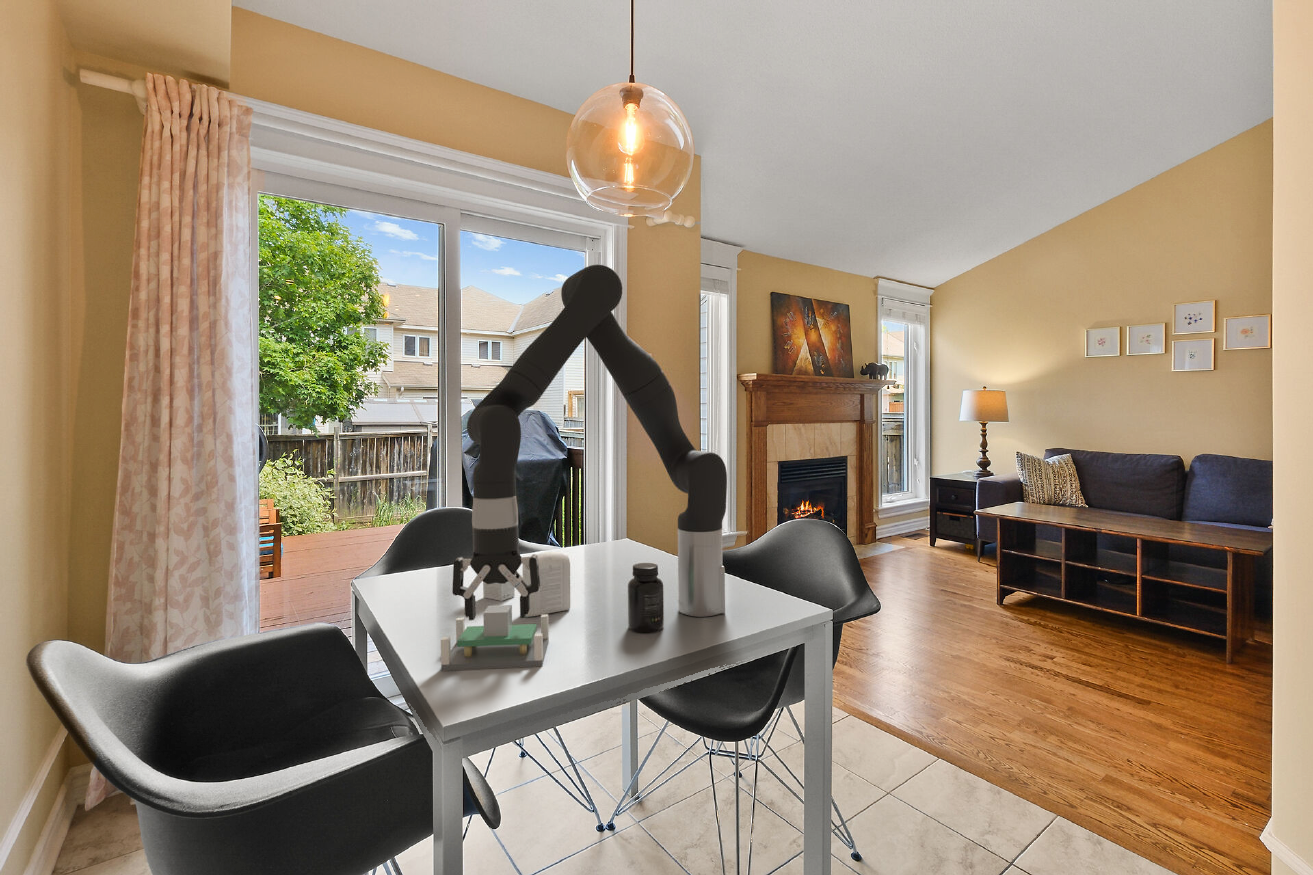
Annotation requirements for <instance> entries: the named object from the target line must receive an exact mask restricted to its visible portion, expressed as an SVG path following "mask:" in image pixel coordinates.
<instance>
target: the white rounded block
mask: <svg viewBox="0 0 1313 875" xmlns="http://www.w3.org/2000/svg"><path fill="white" fill-rule="evenodd" d="M536 555H537V556H538V565H539V577H540V587H539V590H538V591H537V592H534V593H531V594H530V610H529V612H528V614H526V616H525V618H530V617H536V616H541V615H545V614H548V615H549V614H553V613H557V612H564V611H567V610H568V611H569V610H570V609H571V561H570V557H569V555H568V554H565V553H562V552H561V553H560V552H552V551H551V552H544V553H543V552H541V553H538V554H536ZM522 578H523V580H524V581H525V583H526V584H527V585H530V584H531V578H530V570H527V569H526V567H525V565H524V564H522Z"/></svg>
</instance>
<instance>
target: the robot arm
mask: <svg viewBox="0 0 1313 875" xmlns="http://www.w3.org/2000/svg"><path fill="white" fill-rule="evenodd" d="M622 284H623V283H622V280H621V278H620V276H619V273H617V272H616V271H615V270H614V269H613V268H612V267H610V266H608V265H605V264H591V265H587V266H586V267H583V268H582V269H581V270H579V271H577V272H575V273H573V274H572V275H570V276H569V277H567V279H566V280H564V282H563V283H562V286H561V292H560V294H561V301H562V302H561V303H562V304H563V306H564V307H563V309H562V310H561V312H559V314H558V315H557V316H556V318H554V320H553V321H552V322H551V323H550V324H549V325H548V326H547V328H546V329H544V330H543V331H542V332H541V333H540V334H539V335H538V336H537V337H536V338H535V339H534V340H532V342H531V343H530V344H529V345H528V347H526V348H525V349H524V350H523V352H522V353H521V354H520V355H519V357H518V358H517V359H516V361H514V363H513V365H511V367H510V368H509V369H508V371H507V372H506V374H505V375H504V377H503V378H502V380H501V381H500V382H499V383H498V384H497V385H496V386H495V387H494V388H492V389H491V390H490V392H488V393H487V394H486V396H484V398H483V399H481V401H480V402H479V403H478V404H476V406H475V407H474V408H473V410H472V412H471V413H470V415H469V417H468V419H467V424H466V431H467V434H468V436H469V439H470V440H471V441H472V442H473V443H474V444H477V445H479V446H480V448H479V461H478V463H477V464H476V465H475V466H474V468H473V472H472V474H473V475H472V485H473V486H472V489H473V490H472V491H473V493H472V494H473V496H472V497H473V499H472V500H473V502H472V511H471V516H472V517H471V524H472V557H471V558H464V557H463V556H459V557H457V558H456V559H455V560H454V561H453V565H452V566H453V569H452V589H451V590H452V595H453V596H459V597H462V598H463V600H464V615H465V617H466V618H468V621H475V619H476V595H474V593H475V591H477V589H478V588H479V586H480V585H481V583H482V582H485V583H486V584H493V583H500V584H505V583H506V582H508V581H509V582H510V583H511V585H512V586H513V587H514V589H515V590H517V591H518V593H519V594H520V596H519V615H520V616H519V617H520V619H525V618H526V614H528V612H529V610H530V594H531V593H534V592H537V591H538V590H539V587H540V577H539V565H538V556H537V555H538V554H535V553H534V554H532V555H531V556H521V554H520V546H519V542H520V540H519V535H520V534H519V508H518V507H519V506H518V500H517V481H516V479H517V477H516V469H517V464H518V460H519V456H520V455H519V454H520V447H521V440H522V426H521V422H520V419H519V417H520V415H521V414H522V413H523V412H524V411H525V410H527V409H529V408H531V407H533V406H534V405H535V404H537V402H538V401H539V400H540V398H541V397H542V396H543V395H544V393H545V391H547V389H548V387H549V386H551V385H550V384H552V382H553V381H554V379H555V378H556V376H557V375H558V373H559V372H560V371H561V370H562V368H563V367H564V365H565V364H566V363H567V362H568V360H569V359H570V357H571V356H572V355H573V354H574V352H576V351H575V350H577V348H578V347H579V346H580V345H581V344H582V342H584V340H585V339H587V340H588V341H589V343H590V345H591V346H592V347H593V349H594V350H595V352H596V354H598V356H599V358H600V360H601V362H602V363H603V364H604V366H605V368H606V369H607V372H608V373H609V375H610V376H611V378H612V379H613V381H614V382H615V384H616V386H617V388H618V389H619V391H620V393H621V394H622V396H623V397H624V400H625V401H626V403H627V405H628V406H629V407H630V409H631V411H632V412H633V414H634V415H635V417H636V418H637V419H638V422H639V423H640V425H641V426H642V429H643V430H644V432H645V433H646V434H647V436H648V438H649V439H650V441H651V442H652V444H653V446H654V447H655V450H656V452H657V454H659V457H660V459H661V462H662V463H663V464H662V465H664V468H665V470H666V471H667V474H668V476H669V479H670V480H671V482H672V483H673V485H674V486H675V488H677V489H678V490H679V491H681V492H682V493H685V494H687V506H686V509H685V510H684V511H683V512H681V513H680V514H679V515H677V566H678V568H677V570H678V571H677V572H678V573H677V574H678V578H677V579H678V587H677V589H678V600H677V602H678V611H679V613H681V614H683V615H687V616H690V617H698V618H699V617H701V618H703V617H713V616H716V615H720V614H726V572H725V571H726V570H725V569H726V568H725V566H724V565H723V521H724V518H725V515H726V510H727V494H728V493H727V491H728V473H727V468H726V464H725V462H724V460H723V458H722V457H721V456H720V455H718V454H717V453H715V452H712V451H705V450H704V451H703V450H698V449H696V448H695V447H694V445H693V444H692V442H691V441H690V440H689V438H688V436H687V435H686V432H685V430H683V428H682V425H681V422H680V418H679V412H678V411H679V410H678V404H677V399H676V398H677V397H676V395H675V392H674V389H673V387H672V386H671V383H670V381H669V380H668V378H667V376H666V375H665V373H664V371H663V370H662V368H661V366H660V365H659V363H658V362H657V361H656V359H655V358H653V357H652V355H651V354H649V353H648V352H647V351H646V350H645V349H644V348H642V346H640V345H639V344H638V343H637V342H635V341H634V340H633V339H632V338H631V337H630V336H628V335H627V333H626V332H625V331H624V330H623V328H622V327H621V325H620V324H619V322H618V321H617V319H616V317H615V315H614V314H613V311H614V310H615V309H616V308H617V306H618V305H619V304H620V302H621V300H622V297H623V296H622V295H623V285H622ZM523 564H524V565H525V567H526V569H527V570H530V578H531V584H530V585H527V584H526V583H525V581H524V580H523V576H522V575H521V574H520V573H519V572H518V570H519V568H520V567H521V565H523ZM469 566H470V567H471V569H472V570H473V571H474V573H475V574H476V576H475V577H474V579H473V580H472V582H471V583H470V585H469V586H468V587H467V586H464V580H465V579H464V575H465V574H464V573H466V571H467V570H468V568H469Z"/></svg>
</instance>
